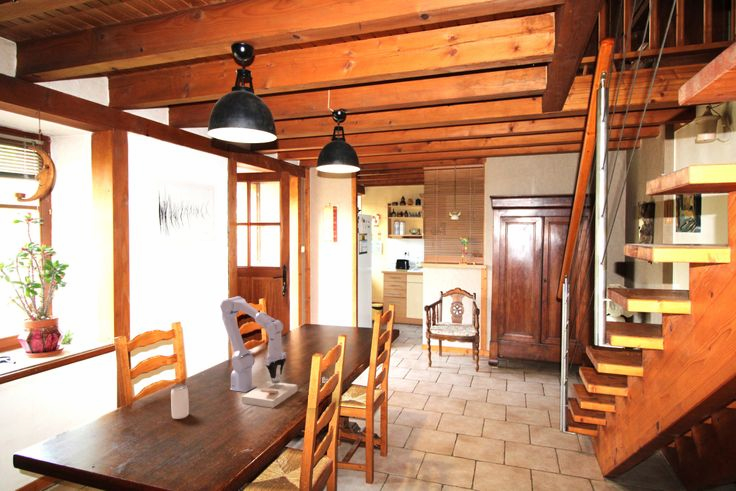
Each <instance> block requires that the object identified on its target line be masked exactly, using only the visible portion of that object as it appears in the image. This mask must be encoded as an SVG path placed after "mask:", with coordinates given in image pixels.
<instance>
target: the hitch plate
mask: <svg viewBox="0 0 736 491" xmlns="http://www.w3.org/2000/svg"><path fill="white" fill-rule="evenodd" d="M261 390H273V391H278V393H267V392H261ZM297 392H298V384H294V383H285V382H280V383H277V384H273V383H272V381H270V380H269V381H268V380H267V381H265V382H264V383H262V384H261V385H259V386H258V387H257V386H256V387H255V388H253V389H251V391H250V390H249V391H248V392H246V393H245V394H243V395H242V396H241V404H244V405H251V406H258V407H266V408H272V409H274V408H275V407H277V406H278V405H279V404H281V403H282V402H284V401H285V400H287V399H288V398H290V397H291V396H293V395H294V394H296V393H297Z"/></svg>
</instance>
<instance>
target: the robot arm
mask: <svg viewBox="0 0 736 491" xmlns="http://www.w3.org/2000/svg"><path fill="white" fill-rule="evenodd" d="M219 307H220V310H221V316H222V317H221V318H222V321H223V324H224V327H225V330H226V332H227V336H228V339H229V342H230V345H231V348H232V351H233V353H232V357H231V361H232V364H231V365H232V368H233V370H232V372H231V374H230V388H229V390H230V391H234V392H244V393H248V392H250V390H251V391H252V390H254V389H255V388H257V385H256V384H255V385H254V384H253V372H252V371H253V370H252V369H253V366H254V365H255V362H256V361H255V357H254V356H253V355H252V352H251V350H249V349H248V348H246V346H245V343H244V340H243V337H242V335H241V331H240V328H239V326H238V325H239V324H238V323H237V320H236V316H237V314H238V313H239V312H243V313H245V314H246V315H248V316H250V317H252V318H253V319H254V321H255V323H256V324H257V325H259V326H261V327H262V328H263V329H265V332H266V333H267V338H268V352H269V353H268V357H267V359H266V360H264V366H265V367H266V368H267V370H268V373H269V375H270V378H276V369H277V366H278V364H281V367H280V376H281V375H283V368H284V366H285V363H286V360H287V359H286V357H287V352H283V351H282V350H283V348H282V332H283V330H284V324H283V321H281V320H280V319H275V318H274V317H271V316H270V315H268V313H267V312H266V311H261V312H259V310H257V309H256V308H254V307H253V306H252V305H251V304H249V303H248V302H247V301H246V299H245V298H243V297H241V295H238V296H234V297H231V298H224V299H222V301H221V304H220V306H219Z"/></svg>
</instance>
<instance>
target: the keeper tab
mask: <svg viewBox="0 0 736 491" xmlns="http://www.w3.org/2000/svg"><path fill="white" fill-rule="evenodd" d="M261 392H267V393H278V391H273V390H261Z"/></svg>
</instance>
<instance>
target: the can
mask: <svg viewBox="0 0 736 491" xmlns="http://www.w3.org/2000/svg"><path fill="white" fill-rule="evenodd" d="M170 403H171V404H170V405H171V408H170V409H171V417H172V419H174V420H181V419H185V418H188V416H189V413H190V410H189V409H190V407H189V406H190V405H189V404H190V403H189V389H188V386H187V385H186V384H177V385H175V386H173V387H171V391H170Z"/></svg>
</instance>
